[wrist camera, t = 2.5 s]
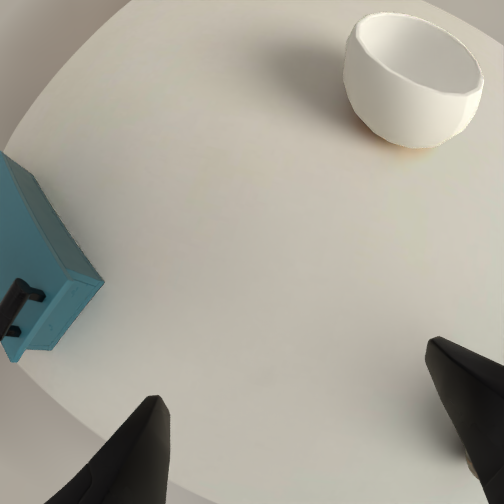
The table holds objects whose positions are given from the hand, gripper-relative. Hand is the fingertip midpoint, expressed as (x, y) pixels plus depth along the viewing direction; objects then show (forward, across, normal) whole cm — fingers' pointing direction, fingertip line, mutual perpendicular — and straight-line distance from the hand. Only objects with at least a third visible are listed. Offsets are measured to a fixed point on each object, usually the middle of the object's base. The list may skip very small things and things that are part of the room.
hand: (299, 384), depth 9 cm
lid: (+15, +24, -5) cm, 28 cm away
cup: (+22, -16, -7) cm, 28 cm away
